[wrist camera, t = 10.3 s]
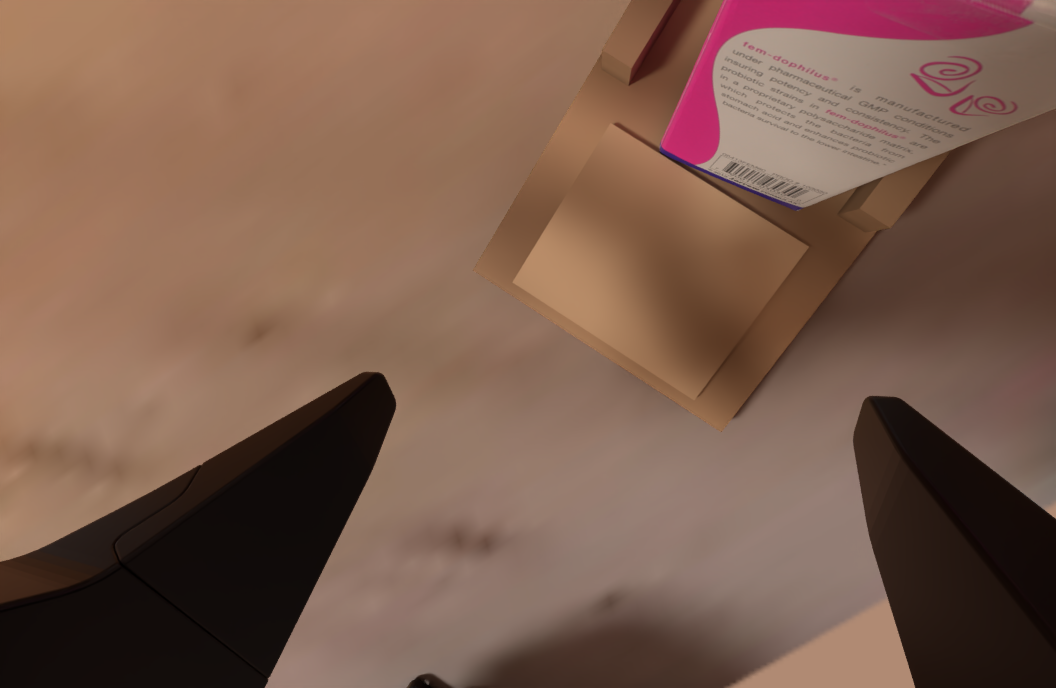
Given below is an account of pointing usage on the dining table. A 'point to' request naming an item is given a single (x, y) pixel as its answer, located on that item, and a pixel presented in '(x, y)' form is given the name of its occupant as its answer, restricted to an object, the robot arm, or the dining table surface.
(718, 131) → the supplement box
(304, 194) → the dining table surface
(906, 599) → the robot arm
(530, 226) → the click board
